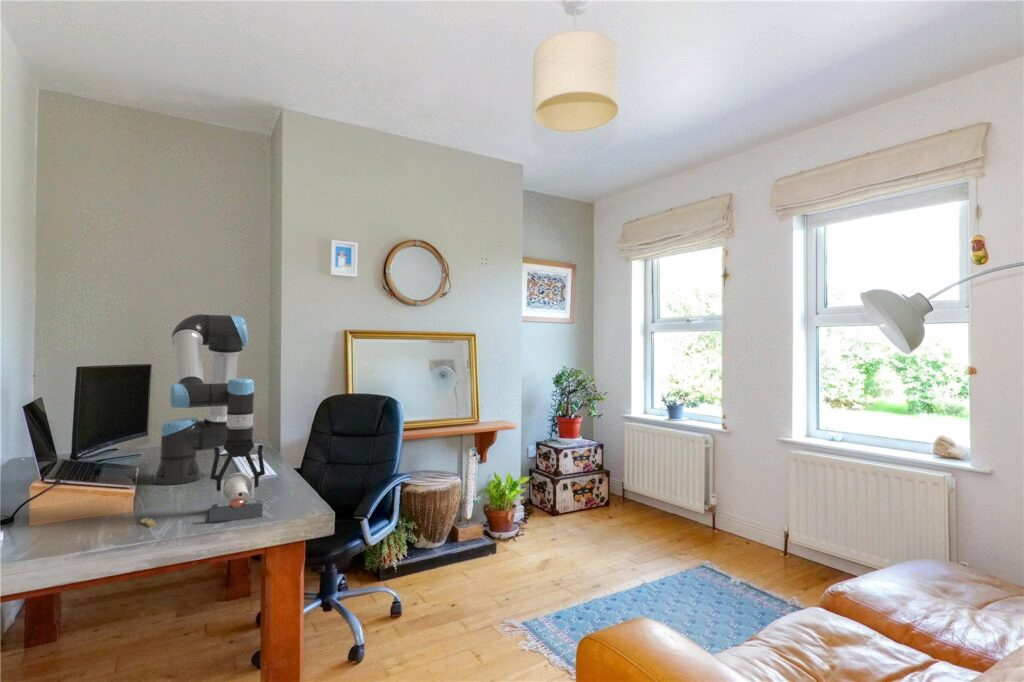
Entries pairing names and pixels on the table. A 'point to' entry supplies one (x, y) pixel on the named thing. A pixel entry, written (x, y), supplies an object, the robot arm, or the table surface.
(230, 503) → the channel
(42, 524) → the table surface
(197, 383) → the robot arm
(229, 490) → the spotlight
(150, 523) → the brass key
